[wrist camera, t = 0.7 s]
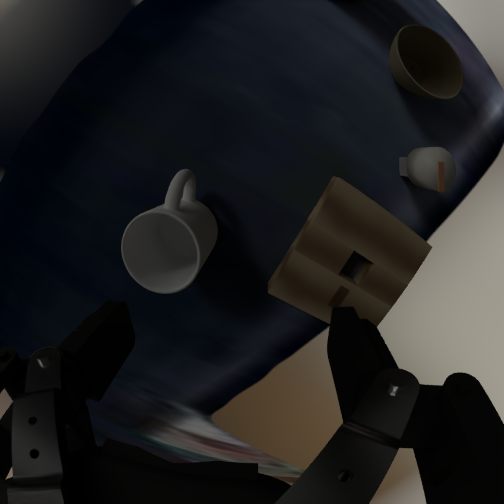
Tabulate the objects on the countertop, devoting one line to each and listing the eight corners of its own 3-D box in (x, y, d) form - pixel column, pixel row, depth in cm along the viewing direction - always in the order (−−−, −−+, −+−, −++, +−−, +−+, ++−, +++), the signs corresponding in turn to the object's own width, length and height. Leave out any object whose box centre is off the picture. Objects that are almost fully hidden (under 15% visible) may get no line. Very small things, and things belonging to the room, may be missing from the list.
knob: (390, 147, 30) (422, 145, 22) (420, 149, 30) (455, 148, 22) (392, 184, 32) (424, 191, 24) (422, 184, 31) (457, 192, 23)
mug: (168, 162, 32) (131, 163, 23) (232, 175, 33) (217, 179, 23) (154, 251, 36) (118, 281, 26) (212, 266, 36) (193, 303, 26)
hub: (333, 176, 32) (340, 177, 29) (421, 240, 34) (433, 247, 30) (267, 282, 36) (267, 293, 33) (359, 329, 38) (365, 342, 35)
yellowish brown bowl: (399, 117, 29) (426, 109, 22) (360, 52, 26) (379, 31, 20) (446, 96, 27) (475, 88, 20) (411, 37, 24) (434, 19, 18)
